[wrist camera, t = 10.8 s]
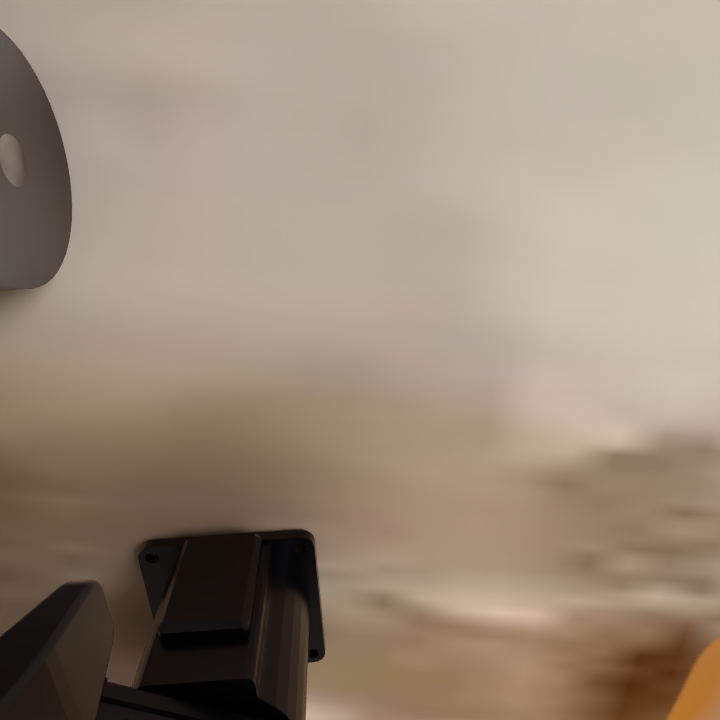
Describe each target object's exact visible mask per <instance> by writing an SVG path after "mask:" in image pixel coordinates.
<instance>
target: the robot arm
mask: <svg viewBox="0 0 720 720" xmlns="http://www.w3.org/2000/svg"><path fill="white" fill-rule="evenodd" d="M300 542H301V543H305V544H306V545H304V546H299V545H297V543H300ZM149 553H155V554H157V555H158V556H153V555H151V554H149ZM138 559H139V563H140V567H141V571H142V575H143V579H144V583H145V587H146V591H147V595H148V599H149V602H150V606H151V610H152V614H153V618H154V622H153V625H152V628H151V631H150V634H149V637H148V640H147V643H146V646H145V649H144V652H143V655H142V658H141V661H140V664H139V667H138V670H137V673H136V676H135V679H134V682H133V685H132V687H128V686H123V685H119V684H115V683H111V682H107V679H108V678H105V674H106V670H107V666H108V661H109V657H110V652H111V648H112V643H113V636H114V630H113V623H112V619H111V616H110V613H109V610H108V606H107V603H106V600H105V597H104V593H103V590H102V587H101V585H100V584H99V583H98V582H97V581H94V580H87V581H74V582H68V583H65V584H63V585H62V586H60V587H59V588H58V589H57V590H55V591H54V592H53V593H52V594H51V595H49V596H48V597H47V598H46V599H45V600H43V601H42V602H41V603H40V604H39V605H37V606H36V607H35V608H34V609H33V610H31V611H30V612H29V613H28V614H27V615H26V616H24V617H23V618H22V619H21V620H20V621H18V622H17V623H16V624H15V625H14V626H12V627H11V628H10V629H9V630H8V631H6V632H5V633H4V634H3V635H2V636H0V720H305V719H306V694H307V668H308V663H309V662H317V661H319V660H321V659H322V658H323V657H324V655H325V639H324V629H323V618H322V608H321V598H320V588H319V577H318V567H317V557H316V547H315V539H314V536H313V535H312V534H311V533H310V532H308V531H305V530H295V531H280V532H265V533H250V534H236V535H221V536H206V537H191V538H176V539H161V540H151V541H147V542H146V543H144V544H143V546H142V548H141V550H140V553H139V555H138ZM311 649H314V650H311Z"/></svg>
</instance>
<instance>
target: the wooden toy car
mask: <svg viewBox="0 0 720 720" xmlns="http://www.w3.org/2000/svg"><path fill="white" fill-rule="evenodd" d="M71 221H72V198H71V185H70V177H69V170H68V164H67V159H66V154H65V149H64V146H63V142H62V138H61V134H60V131H59V128H58V125H57V122H56V119H55V116H54V113H53V111H52V108H51V105H50V103H49V101H48V98H47V96H46V94H45V91H44V89H43V87H42V85H41V83H40V82H39V80H38V78H37V76H36V74H35V72H34V71H33V69H32V67H31V66H30V64H29V62H28V61H27V60H26V58H25V57H24V55H23V54H22V52H21V51H20V50H19V48H18V47H17V46H16V45H15V44H14V42H13V41H12V40H11V39H10V38H9V37H8V36H7V35H6V34H5V33H4V32H3V31H2V30H0V290H14V289H31V288H36V287H40V286H42V285H44V284H46V283H47V282H48V281H50V280H51V279H52V278H53V277H54V275H55V274H56V273H57V272H58V270H59V268H60V266H61V264H62V262H63V260H64V257H65V255H66V251H67V248H68V244H69V238H70V232H71Z"/></svg>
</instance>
